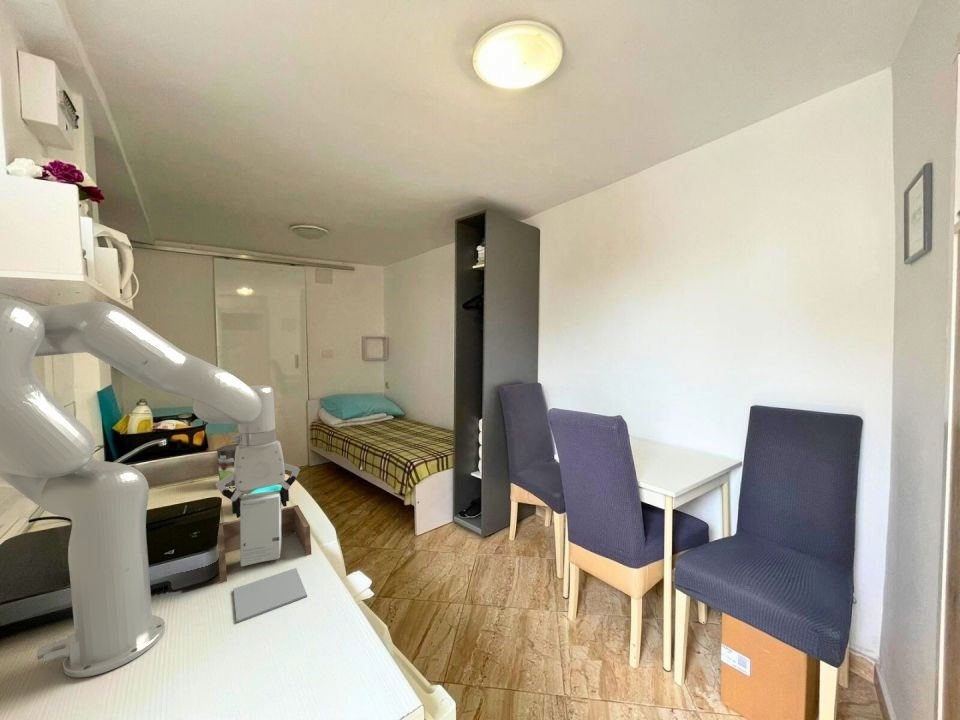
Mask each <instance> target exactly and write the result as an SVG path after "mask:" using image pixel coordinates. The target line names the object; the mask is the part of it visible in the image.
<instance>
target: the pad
mask: <svg viewBox="0 0 960 720" xmlns="http://www.w3.org/2000/svg"><path fill="white" fill-rule="evenodd" d="M232 590H233V599H234V609H235V619H236V624H239V623H241V622H244V621H246V620H249V619H252V618H255V617H257V616H261V615H262V614H265V613H267V612H270V611H273V610H276V609H278V608H281V607H283V606H287V605H290V604H291V603H294V602H297V601H300V600H302V599H305V598H307V597H308V594H307V590H306V588H305V585H304V584H303V581H302V579H301V577H300V574H299V571H298V569H297V567H294V568H291V569H289V570H286V571H283V572H279V573H276V574H274V575H270V576H268V577H264V578H262V579H258V580H255V581H252V582H249V583H246V584H243V585H241V586H237V587H234V588H233V589H232Z"/></svg>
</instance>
